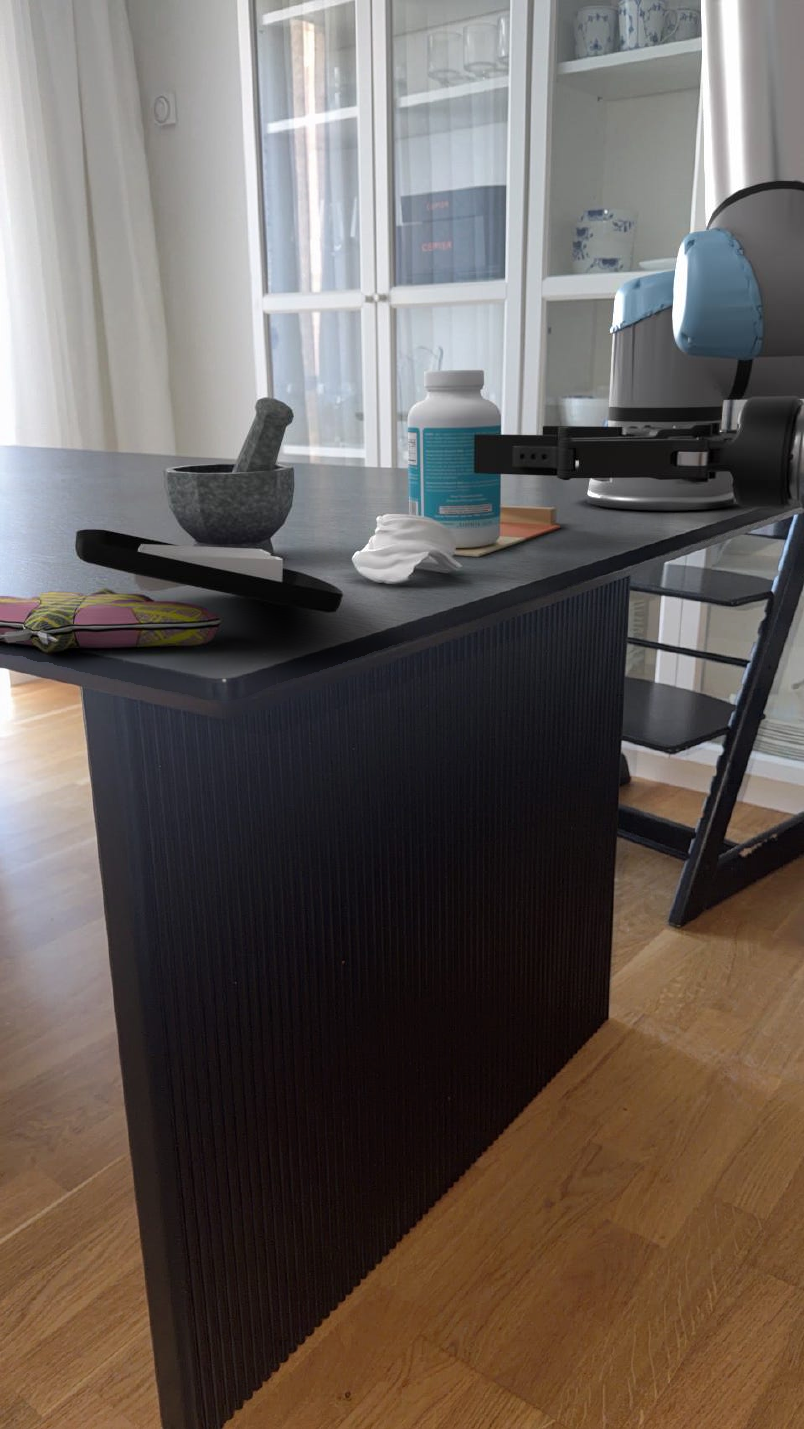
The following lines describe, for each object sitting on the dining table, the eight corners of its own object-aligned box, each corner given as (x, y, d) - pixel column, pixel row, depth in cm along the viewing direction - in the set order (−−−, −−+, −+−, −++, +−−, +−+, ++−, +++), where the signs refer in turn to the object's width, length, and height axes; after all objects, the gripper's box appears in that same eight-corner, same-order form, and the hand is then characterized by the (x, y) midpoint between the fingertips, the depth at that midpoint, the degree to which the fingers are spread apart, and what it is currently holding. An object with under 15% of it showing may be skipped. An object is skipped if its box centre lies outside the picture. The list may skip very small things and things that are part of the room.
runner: (480, 523, 101) (480, 521, 101) (560, 527, 97) (560, 525, 97) (388, 550, 86) (388, 547, 85) (478, 556, 82) (478, 554, 82)
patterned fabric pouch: (251, 587, 59) (182, 631, 50) (253, 625, 60) (185, 675, 50) (-20, 579, 62) (-134, 619, 53) (-15, 615, 63) (-126, 660, 53)
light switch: (54, 578, 48) (352, 638, 51) (65, 514, 47) (365, 579, 51) (86, 557, 67) (303, 602, 70) (94, 511, 66) (312, 559, 70)
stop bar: (496, 521, 101) (497, 504, 101) (556, 525, 99) (556, 507, 98) (490, 523, 100) (491, 506, 100) (550, 527, 97) (551, 509, 97)
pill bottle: (518, 542, 87) (522, 369, 83) (459, 553, 82) (459, 369, 78) (450, 534, 92) (450, 370, 88) (390, 544, 87) (387, 371, 83)
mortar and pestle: (144, 561, 81) (130, 398, 78) (231, 546, 88) (222, 395, 85) (250, 576, 75) (240, 398, 71) (335, 558, 82) (330, 396, 78)
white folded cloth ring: (335, 589, 75) (324, 519, 73) (402, 567, 79) (393, 502, 77) (415, 595, 69) (406, 521, 68) (483, 572, 73) (475, 501, 72)
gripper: (761, 532, 63) (441, 515, 73) (820, 491, 84) (565, 482, 94) (773, 401, 61) (441, 401, 71) (830, 393, 82) (568, 394, 92)
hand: (511, 447), depth 82 cm, fingers open, 13 cm apart
